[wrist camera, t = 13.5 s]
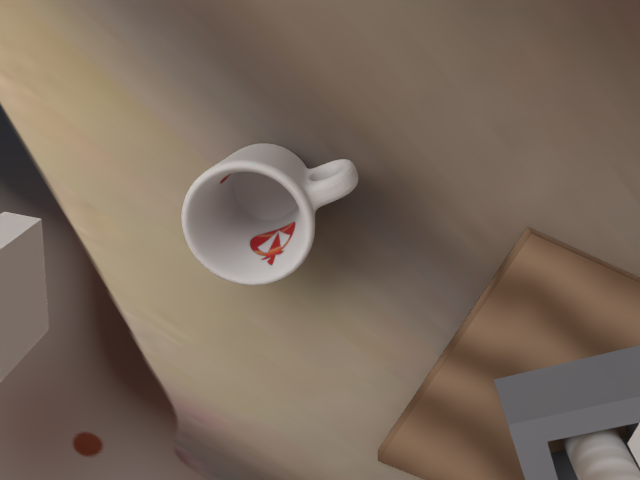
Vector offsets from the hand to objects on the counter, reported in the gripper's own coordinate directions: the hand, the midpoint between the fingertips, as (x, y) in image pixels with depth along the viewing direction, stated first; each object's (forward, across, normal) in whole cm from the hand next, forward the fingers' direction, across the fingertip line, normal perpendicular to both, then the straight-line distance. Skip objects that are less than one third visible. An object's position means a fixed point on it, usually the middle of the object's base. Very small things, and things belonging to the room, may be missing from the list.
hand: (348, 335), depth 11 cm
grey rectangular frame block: (+26, +23, -25) cm, 42 cm away
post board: (+27, +22, -22) cm, 41 cm away
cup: (+28, -4, -7) cm, 29 cm away
